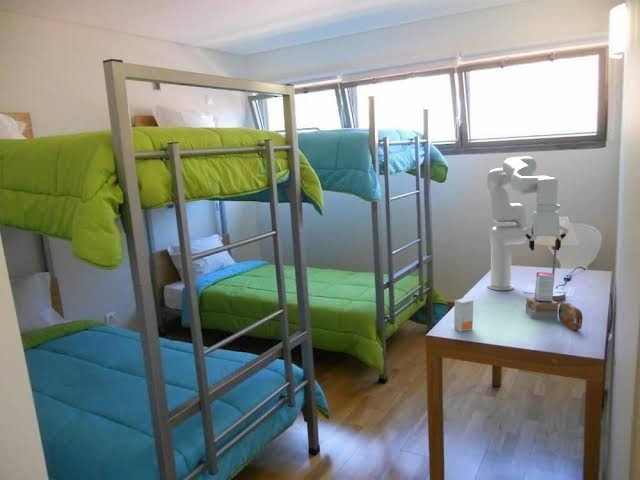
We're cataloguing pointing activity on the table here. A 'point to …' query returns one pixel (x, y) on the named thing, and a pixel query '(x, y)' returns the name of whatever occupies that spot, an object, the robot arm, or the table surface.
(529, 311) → the tower base
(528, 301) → the tower top
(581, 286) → the table surface
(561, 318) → the tin
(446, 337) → the table surface
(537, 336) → the table surface
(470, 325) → the skincare box
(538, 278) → the supplement box
